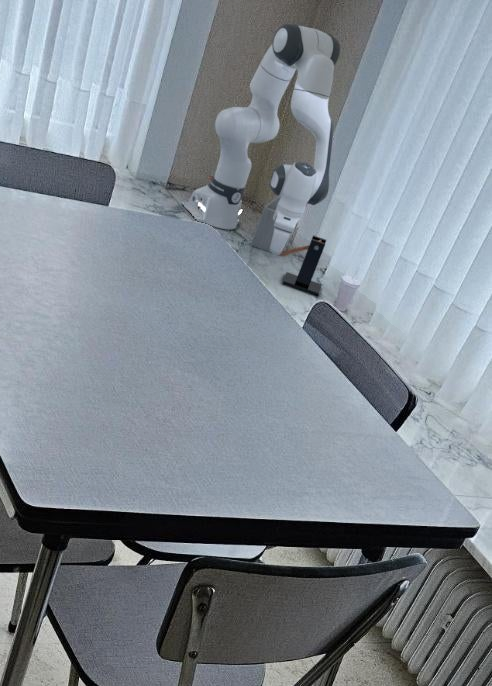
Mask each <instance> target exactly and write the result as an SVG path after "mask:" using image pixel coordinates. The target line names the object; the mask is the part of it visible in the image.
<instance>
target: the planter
mask: <svg viewBox="0 0 492 686" xmlns="http://www.w3.org/2000/svg"><path fill="white" fill-rule="evenodd" d="M279 200H280V196H278V197H276V198H274V199H273V200H272V201H270V202H269V203H267V204H266V205H265V206H264V207H263V209H262V212H261V215H260V216H259V220H258V223H257V226H256V229H255V232H254V235H253V237H252V240H251V243H250V246H252V247H253V248H254V247H255V248H257V249H261V250H264V251H267V252H270V245H271V241H272V237H273V232H274V228H275V227H274V219H273V215H274V213H275V210H276V207H277V204H278V202H279ZM292 235H293V233H291V235H290V237H289V239H288V241H287V243H286V245H285V247H284V249H283V251H285V250H287V248H288V244H289V241H290V238H291V236H292ZM270 253H271V252H270Z"/></svg>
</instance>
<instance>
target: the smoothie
mask: <svg viewBox="0 0 492 686" xmlns="http://www.w3.org/2000/svg"><path fill="white" fill-rule="evenodd" d="M359 270H360V267H357V268H356V270H355V273H354V274H353V276H350V275H341V277H340V278H339V281H340V283H339V286H338V290H337V294H336V296H335V297H336V298H335V301H334V305H333V307H334V306H335V307H336V308H337V309H338V310H337V309H336V310H337V311H339V312H346V310H347V308H348V307H349V305H350V303H351V301H352V300H353V298H354V296H355V295H356V292H357V290H358V289H359V288H360V287H361V284H362V282H361V281H360V280H359V279H357V278H356V277H357V275H358V273H359Z"/></svg>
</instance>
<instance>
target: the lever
mask: <svg viewBox="0 0 492 686" xmlns="http://www.w3.org/2000/svg"><path fill="white" fill-rule="evenodd" d="M317 241H320V242H322V241H321V240H317ZM309 246H310V244H307V245H302V246H299V247H295V248H290V249H286V250H285V251H282V252H281V254H280V255H277V257H281V256H285V255H289V254H292V253H298V252H302V251H307V250H308V248H309ZM270 257H271V255H270V256H269V258H270Z"/></svg>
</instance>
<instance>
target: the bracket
mask: <svg viewBox="0 0 492 686" xmlns="http://www.w3.org/2000/svg"><path fill="white" fill-rule="evenodd" d="M317 240H321V241H322V242H320V241H317ZM326 243H327V239H326V238H323V237H320V236H317V235H312V237H311V240H310V243H309V245H310V246H309V248H308V249H307V250H306V253H305V256H304V258H303V261H302V263H301V266H300V269H299V271H298V274H294V273H292V272H291V273H290V272H288V271H286V272H285V274H284V278H283V281H282V283H281V284H282V285H283V286H285V287H289V288H290V289H291V288H292V289H294V290H297V291H300V292H303V293H305V294H308V295H311V296H314V297H317V298H318V297H319V295H320V292H321V290H322V289H321V288H322V283H319V282H316V281H314V280H313V278H314V274H315V272H316V269H317V268H318V264H319V262H320V259H321V256H322V254H323V252H324V249H325V248H326V247H325V246H326Z"/></svg>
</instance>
